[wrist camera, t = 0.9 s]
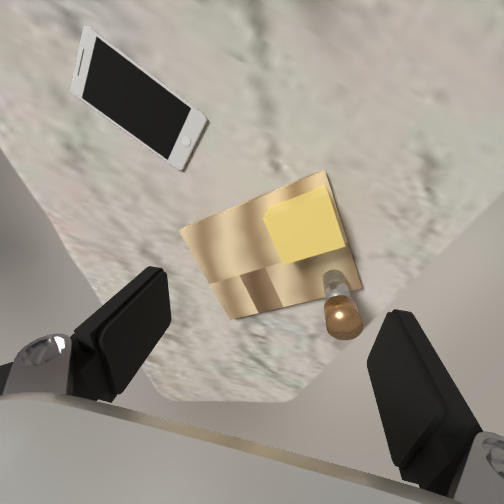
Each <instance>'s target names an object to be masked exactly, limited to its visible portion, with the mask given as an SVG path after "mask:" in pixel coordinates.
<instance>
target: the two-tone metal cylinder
mask: <svg viewBox="0 0 504 504" xmlns="http://www.w3.org/2000/svg"><path fill="white" fill-rule="evenodd" d="M323 285H324V292H325V299H326V303H325V305H324V311H325V319H326V326H327V331H328V333H329V334H330V335H331V336H333V337H334V338H336V339H340V340H350V339H353V338H356V337H357V336H359V335H360V333H361V332H362V330H363V324H362V321H361V317H360V314H359V311H358V308H357V305H356V303H355V301H354V300H353V299H352V298H351V296H350V292H349V289H348V286H347V283H346V279H345V276H344V274H343V273H342V272H341V271H339V270H329V271H327V272H326V273H325V274H324V275H323Z"/></svg>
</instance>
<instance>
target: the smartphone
mask: <svg viewBox="0 0 504 504" xmlns="http://www.w3.org/2000/svg"><path fill="white" fill-rule="evenodd" d="M70 90H71V92H72V93H73V94H74V95H75V96H76V97H78V98H79V99H81V100H82V101H83V102H85V103H86V104H87V105H89V106H90V107H92V108H93V109H94V110H96V111H97V112H99V113H100V114H101V115H103V116H104V117H105V118H107V119H108V120H110V121H111V122H112V123H114V124H115V125H117V126H118V127H119V128H121V129H122V130H123V131H125V132H126V133H128V134H129V135H130V136H132V137H133V138H135V139H136V140H137V141H139V142H140V143H141V144H143V145H144V146H146V147H147V148H148V149H150V150H151V151H153V152H154V153H155V154H157V155H158V156H160V157H161V158H162V159H164V160H165V161H166V162H168V163H169V164H171V165H172V166H173V167H175V168H176V169H178V170H183V169H184V167H185V165H186V163H187V161H188V159H189V157H190V155H191V153H192V151H193V149H194V147H195V145H196V143H197V141H198V139H199V137H200V135H201V133H202V131H203V129H204V127H205V125H206V123H207V121H208V119H207V117H206V116H205V115H204V114H203V113H202V112H200V111H199V110H198V109H197V108H195V107H194V106H193V105H191V104H190V103H189V102H187V101H186V100H185V99H183V98H182V97H181V96H180V95H178V94H177V93H176V92H174V91H173V90H172V89H170V88H169V87H168V86H166V85H165V84H164V83H163V82H161V81H160V80H159V79H157V78H156V77H155V76H153V75H152V74H151V73H149V72H148V71H147V70H146V69H144V68H143V67H142V66H140V65H139V64H138V63H136V62H135V61H134V60H132V59H131V58H130V57H129V56H127V55H126V54H125V53H123V52H122V51H121V50H119V49H118V48H117V47H115V46H114V45H113V44H112V43H110V42H109V41H108V40H106V39H105V38H104V37H102V36H101V35H100V34H98V33H97V32H96V31H95V30H93V29H92V28H90V27H88V26H84V27H83V32H82V37H81V41H80V46H79V51H78V56H77V60H76V65H75V70H74V74H73V79H72V84H71V89H70Z"/></svg>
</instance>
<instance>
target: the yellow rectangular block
mask: <svg viewBox="0 0 504 504" xmlns="http://www.w3.org/2000/svg"><path fill="white" fill-rule="evenodd" d="M263 220H264V222H265V225H266V227H267V229H268V231H269V234H270V236H271V238H272V241H273V243H274V245H275V248H276V250H277V252H278V254H279V257H280V259H281V261H282V264H283V265H285V264H289V263H292V262H295V261H299V260H302V259H305V258H309V257H312V256H315V255H319V254H322V253H325V252H329V251H332V250H336V249H339V248H342V247H345V244H344V240H343V237H342V234H341V231H340V228H339V225H338V222H337V219H336V216H335V212H334V209H333V206H332V203H331V200H330V197H329V194H328V191H327V189H326V187H325V186H323V187H320V188H318V189H315V190H313V191H310V192H307V193H305V194H302V195H300V196H297V197H295V198H292V199H289V200H287V201H284V202H282V203H279V204H277V205H274V206H272V207H269V208H267V210H266V212H265V215H264V217H263Z"/></svg>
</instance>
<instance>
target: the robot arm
mask: <svg viewBox="0 0 504 504" xmlns="http://www.w3.org/2000/svg"><path fill="white" fill-rule="evenodd" d="M170 323H171V309H170V300H169V290H168V280H167V273H166V272H164V270H163V269H162V268H158V267H152V266H149V267H147V268H146V269H145V270H144V271H142V272H141V273H140V274H139V275H138V276H137V277H135V278H134V279H133V280H132V281H131V282H130V283H128V284H127V285H126V286H125V287H124V288H123V289H121V290H120V291H119V292H118V293H117V294H116V295H114V296H113V297H112V298H111V299H110V300H109V301H108V302H106V303H105V304H104V305H103V306H102V307H101V308H99V309H98V310H97V311H96V312H95V313H94V314H93V315H91V316H90V317H89V318H88V319H87V320H85V321H84V322H83V323H82V324H81V325H80V326H79V327H77V328H76V329H75V330H74V332H75V333H74V334H73V335H72V336H71V337H69V336H68V335H65V334H52V335H47V336H44V337H41V338H38V339H36V340H34V341H32V342H30V343H29V344H28V345H26V346H25V347H23V348H22V349H21V350H20V352H18V354H17V355H16V357H15V359H14V362H11V363H8V364H5V365H2V366H0V504H504V437H503V436H501V435H498V434H496V433H492V432H483V430H482V429H481V427H480V425H479V424H478V422H477V420H476V418H475V417H474V415H473V413H472V412H471V410H470V408H469V407H468V405H467V403H466V402H465V400H464V398H463V396H462V395H461V393H460V391H459V390H458V388H457V387H456V385H455V383H454V382H453V380H452V378H451V377H450V375H449V373H448V372H447V370H446V368H445V366H444V365H443V363H442V361H441V360H440V358H439V356H438V355H437V353H436V352H435V350H434V348H433V347H432V345H431V343H430V341H429V340H428V338H427V336H426V335H425V333H424V331H423V330H422V328H421V326H420V325H419V323H418V321H417V320H416V318H415V317H414V315H413V313H412V312H408V311H402V310H396V309H395V310H393V311H392V312H388V313H387V315H386V317H385V319H384V322H383V324H382V326H381V329H380V331H379V333H378V335H377V338H376V340H375V343H374V345H373V347H372V349H371V352H370V354H369V356H368V359H367V368H368V372H369V376H370V380H371V383H372V387H373V390H374V394H375V398H376V402H377V406H378V409H379V413H380V417H381V421H382V424H383V428H384V432H385V435H386V439H387V443H388V447H389V451H390V454H391V458H392V461H393V463H394V465H395V466H397V467H399V470H400V474H401V477H402V480H404V481H408V482H412V483H416V484H419V487H420V488H417V487H414V486H410V485H407V484H404V483H400V482H397V481H393V480H390V479H386V478H383V477H380V476H376V475H373V474H369V473H366V472H362V471H359V470H355V469H351V468H347V467H344V466H340V465H336V464H333V463H329V462H325V461H322V460H318V459H314V458H311V457H307V456H303V455H300V454H296V453H292V452H289V451H285V450H281V449H277V448H274V447H270V446H266V445H263V444H259V443H255V442H251V441H247V440H243V439H240V438H237V437H233V436H229V435H225V434H221V433H218V432H214V431H210V430H206V429H203V428H199V427H195V426H191V425H187V424H184V423H180V422H176V421H172V420H168V419H164V418H160V417H157V416H153V415H149V414H145V413H141V412H138V411H133V410H130V409H126V408H122V407H118V406H113V405H110V404H105V403H101V402H97V400H98V399H99V400H103V401H107V402H110V403H112V401H113V400H114V399H115V397H116V396H117V394H121V393H122V392H123V391H124V390H125V388H126V387H127V385H128V384H129V383H130V381H131V380H132V378H133V377H134V376H135V374H136V373H137V371H138V370H139V368H140V367H141V366H142V364H143V363H144V361H145V360H146V358H147V357H148V356H149V354H150V353H151V351H152V350H153V348H154V347H155V345H156V344H157V343H158V341H159V340H160V338H161V337H162V335H163V334H164V333H165V331H166V330H167V328H168V327H169V325H170Z"/></svg>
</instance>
